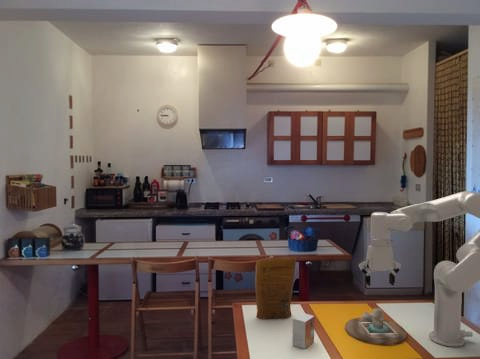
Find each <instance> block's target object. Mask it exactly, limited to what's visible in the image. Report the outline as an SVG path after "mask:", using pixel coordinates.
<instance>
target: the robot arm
mask: <svg viewBox="0 0 480 359" xmlns="http://www.w3.org/2000/svg"><path fill="white" fill-rule="evenodd" d="M467 214H469V215H471V216H474V217H476V218H478V219H480V193H479V192H477V191H470V190H469V191H468V190H464V191H460V192H456V193H454V194H451V195H447V196H443V197H439V198H437V199H433V200H429V201H425V202H421V203H416V204H412V205H408V206H407V205H406V206H403V207H401V208H397V209H395V210H392V211H391V212H390V213H388V212H386V211H385V212H384V211H374V212H372V213H371V215H370V244H369V245H368V246H367V250H366V258H365V260H364V261H361V263H358V267H359V269H360V271H361V272H362V273H363V274H364V283H365V284H366V286H368V287H369V286H371V274H372V272H389V274H388V276H389V277H388V283H389V284H390V285H391V286H394V285H395V283H396V275H397V274H398V272H399V271H400V270H401V267H402V263H400V262H398V261H396V260H395V259H394V253H393V251H394V250H393V248H392V245H391V244H394V242H395V241H394V239H391V232H397V233H405V232H408V231H410V230H411V228H413V224H416V223H421V222H422V223H423V222H435V223H437V222H442V221H445V220H448V219H452V218H455V217H459V216H462V215H467ZM455 255H456V259H457V260H458V263H455V262H453V261H451V260H442V261H440V262H438V263H437V264H436V265H435V266H434V270H433V280H434V303H433V304H434V305H433V307H434V308H433V310H434V311H433V331H430V332H429V334H428V335H429V336H428V338H429V339H430V340H431V341H432V342H434V343H436V344H439V345H441V346H446V347H452V348H458V347H462V346H464V345H465V339H464V338H465V337H466V338H467V337H468V338H472V337H474V336H473V332H472V331H466V329H462V327H461V326H462V325H461V324H462V322H461V321H462V304H463V302H462V301H463V298H462V294H463V293H464V292H466V291H468V290H470V289H471V288H472V287H474V286H475V285H476V284H477V283H478V282H480V229H478V231H477V232H476V233H475V234H474V235H473V236H472V237H471V238H469V240H467V241H465V243H464V244H462V245H461V246H460V247H459V248H458V249H457V252H456V254H455ZM394 266H395V267H394ZM365 267H366V269H365Z"/></svg>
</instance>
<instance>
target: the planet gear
mask: <svg viewBox="0 0 480 359" xmlns="http://www.w3.org/2000/svg"><path fill="white" fill-rule="evenodd" d="M372 313H373V324H369V326H368V331H369V332H371V333H388V327H387V326H384V325H383V319H384V315H385V314H384V313H385V312H384V309H382V308H380V307H379V308H377V307H375V308H372Z"/></svg>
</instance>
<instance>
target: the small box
mask: <svg viewBox="0 0 480 359" xmlns="http://www.w3.org/2000/svg"><path fill="white" fill-rule="evenodd" d="M315 320H316V317H315V316H314V315H312V314H308V313H305V312H301V313H300V314H299V315H297V316H296V317H293V318H292V346H295V347H298V348H299V349H306V348H308V347H310V345H312V344H314V343H315V324H316V323H315Z"/></svg>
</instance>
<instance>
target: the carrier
mask: <svg viewBox="0 0 480 359" xmlns="http://www.w3.org/2000/svg"><path fill="white" fill-rule="evenodd" d="M369 324H373V312H365V311H364V312H363V313H362V317H354V318H351V319H349V320H347V321H346V322H345V328H344V329H345V333H347V335H349V336H350V337H351V338H353V339H355V340H356V341H357V340H358V341H360V342H363V343H366V344H371V345H378V346H394V345H398V344H401V343H404V341H406V339H407V331H406V330H405V329H404V328H403V326H401V325H400V324H397V323H396V322H393V321H390V320H387V319H384V318H383V325H384V326H387V327H388V333H371V332H369V331H368V326H369Z"/></svg>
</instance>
